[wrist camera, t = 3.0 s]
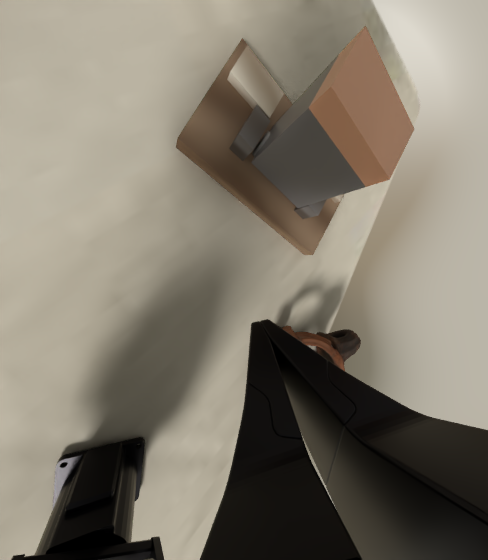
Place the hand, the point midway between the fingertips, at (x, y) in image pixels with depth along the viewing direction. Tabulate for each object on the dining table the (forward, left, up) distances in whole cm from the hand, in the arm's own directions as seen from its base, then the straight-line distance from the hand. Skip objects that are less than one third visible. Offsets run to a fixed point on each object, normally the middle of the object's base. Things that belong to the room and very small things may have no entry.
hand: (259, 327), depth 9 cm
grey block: (+13, -6, -10) cm, 17 cm away
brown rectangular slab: (+14, -6, -12) cm, 19 cm away
